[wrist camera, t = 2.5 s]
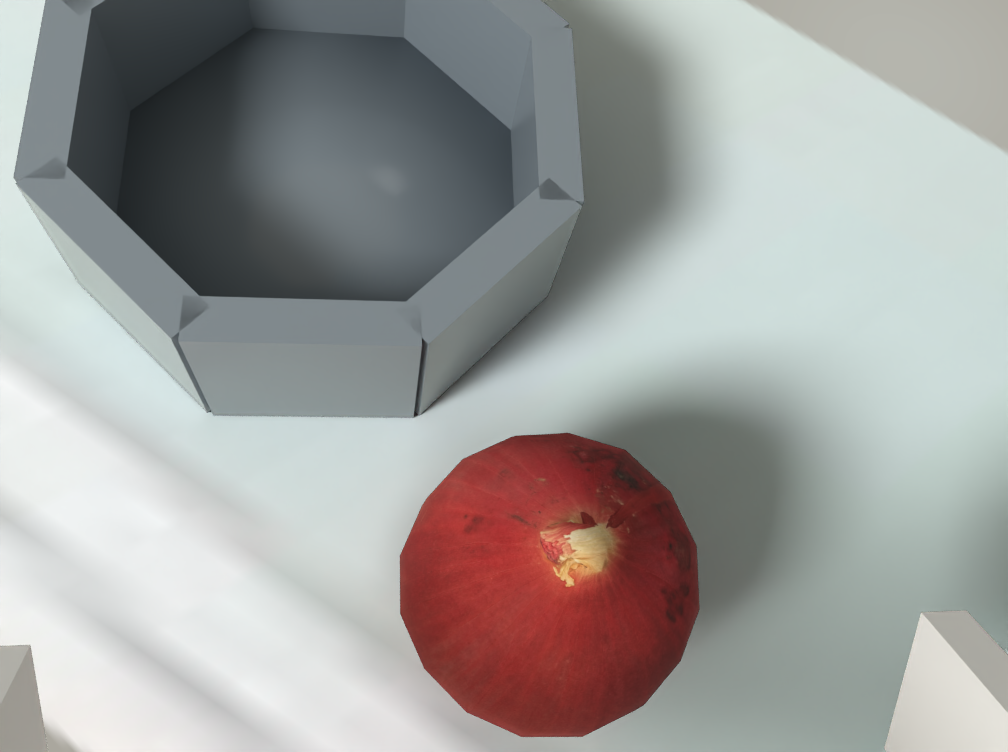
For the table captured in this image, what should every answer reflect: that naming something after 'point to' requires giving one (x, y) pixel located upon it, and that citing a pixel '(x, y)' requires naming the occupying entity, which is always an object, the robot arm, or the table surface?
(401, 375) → the grey octagonal bowl
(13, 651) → the robot arm
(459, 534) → the onion
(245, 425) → the table surface
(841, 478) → the table surface
